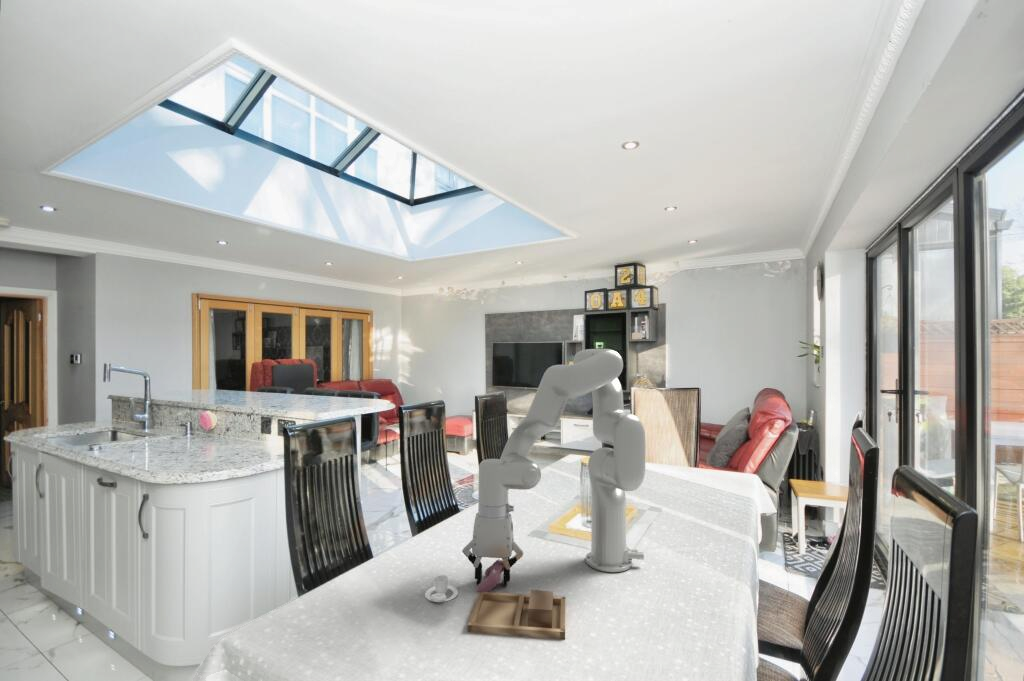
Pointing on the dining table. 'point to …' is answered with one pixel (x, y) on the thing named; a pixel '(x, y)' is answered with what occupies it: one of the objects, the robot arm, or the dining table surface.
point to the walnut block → (540, 609)
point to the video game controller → (492, 576)
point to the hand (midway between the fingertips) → (492, 582)
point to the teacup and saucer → (441, 590)
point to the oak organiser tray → (513, 616)
